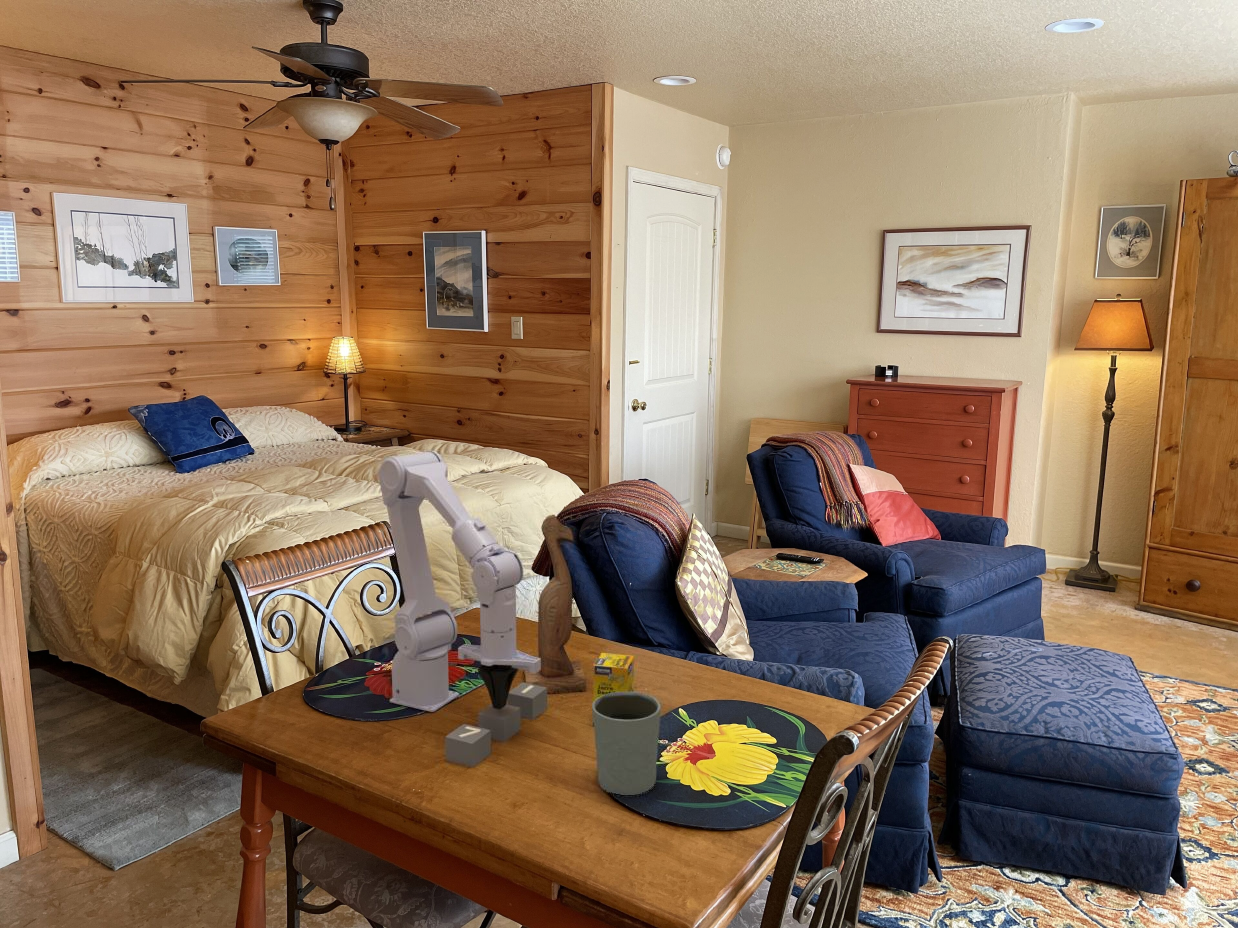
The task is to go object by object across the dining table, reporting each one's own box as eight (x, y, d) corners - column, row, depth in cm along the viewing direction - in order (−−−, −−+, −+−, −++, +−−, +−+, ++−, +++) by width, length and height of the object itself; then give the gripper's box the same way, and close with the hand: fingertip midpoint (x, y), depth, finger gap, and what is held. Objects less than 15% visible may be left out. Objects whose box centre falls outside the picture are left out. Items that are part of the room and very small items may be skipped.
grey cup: (637, 806, 129) (638, 726, 127) (577, 785, 134) (578, 708, 132) (671, 775, 137) (673, 700, 135) (614, 757, 143) (615, 684, 141)
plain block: (478, 736, 149) (477, 713, 149) (494, 724, 154) (494, 701, 153) (504, 742, 147) (504, 719, 147) (520, 730, 152) (520, 707, 151)
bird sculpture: (590, 693, 167) (596, 521, 162) (526, 696, 164) (530, 522, 159) (578, 670, 178) (584, 508, 173) (518, 673, 175) (522, 509, 170)
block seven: (445, 760, 141) (445, 735, 141) (464, 747, 146) (464, 722, 145) (472, 768, 139) (472, 742, 139) (491, 753, 144) (490, 728, 143)
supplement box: (627, 730, 152) (628, 668, 150) (592, 727, 153) (592, 665, 151) (634, 715, 157) (634, 654, 156) (599, 711, 159) (600, 651, 157)
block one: (507, 714, 157) (507, 691, 157) (522, 703, 162) (522, 681, 161) (532, 720, 155) (532, 697, 155) (547, 709, 160) (547, 686, 159)
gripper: (446, 627, 147) (448, 707, 149) (524, 642, 141) (525, 724, 143) (471, 614, 153) (472, 691, 155) (547, 627, 147) (547, 707, 149)
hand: (499, 706), depth 150 cm, fingers closed
